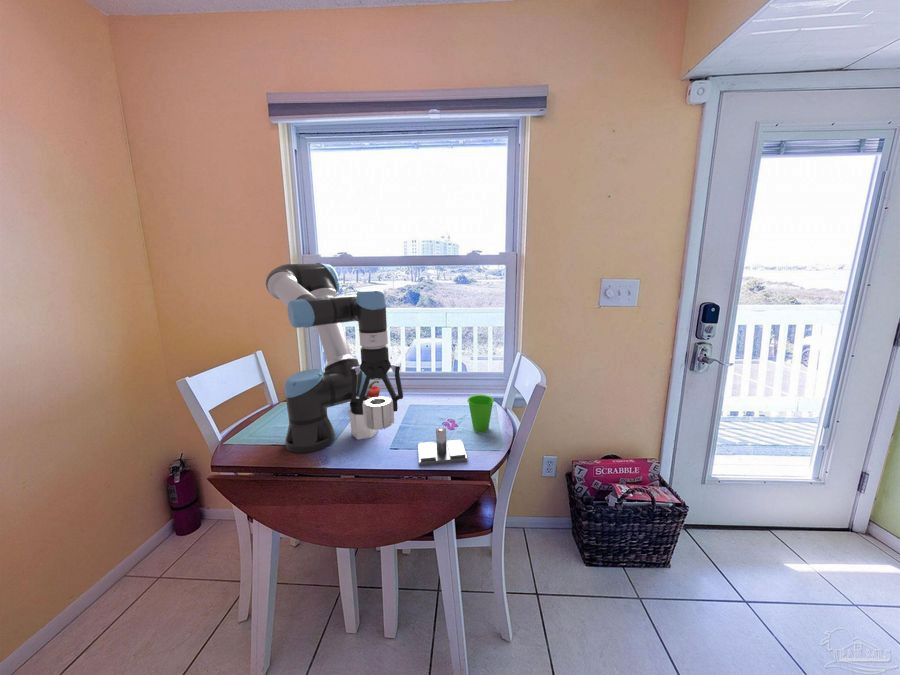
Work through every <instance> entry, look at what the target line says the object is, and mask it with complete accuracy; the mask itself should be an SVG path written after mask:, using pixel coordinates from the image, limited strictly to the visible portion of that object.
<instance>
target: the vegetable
mask: <svg viewBox="0 0 900 675" xmlns="http://www.w3.org/2000/svg"><path fill="white" fill-rule="evenodd" d="M379 383H380V380H373V381H372V382H370V385H369V391H368V393H367V395H366V396H367V397H371V398H375V397H380V392H381V391H380V387H379V386H377V385H375V384H379Z"/></svg>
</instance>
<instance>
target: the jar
mask: <svg viewBox="0 0 900 675" xmlns="http://www.w3.org/2000/svg"><path fill="white" fill-rule="evenodd" d="M368 399H371V397H367V396H364V399H363V401H367V400H368ZM348 412H349V414H348V415H349V422H350V423H349V424H350V430H351V435H352V436H353V437H354V438H355V439H356V440H362V439H363V440H364V439H371V438H373V437H374V436H375V435H376V434H377V433H378V431H379V430H374V429H373V430H372V429H369V428H367V426H364V418H363V414H360V413H359V404H358V403H356V402H354V403H353V402H352V401H351V402H349V410H348Z"/></svg>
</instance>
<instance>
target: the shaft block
mask: <svg viewBox="0 0 900 675" xmlns="http://www.w3.org/2000/svg"><path fill="white" fill-rule="evenodd" d="M435 429H436V430H435V434H436V435H435V436H436V437H435V438H436V441H435V442H434V441H427V442H419V443H418V444H417V452H418V466H419V467H423V466H424V467H425V466H432V465H433V466H434V465H445V464H456V463H465V462H467V463H468V455H467V452H466V449H465V447H464V446H465V445H464V442H463V440H462V439H451V440H447V428H446V427H444V426H440V427H437V428H435Z"/></svg>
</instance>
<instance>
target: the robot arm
mask: <svg viewBox="0 0 900 675" xmlns="http://www.w3.org/2000/svg"><path fill="white" fill-rule="evenodd" d="M339 281H340V280H339V276H338V273H337V271H336V270H335V268H334V267H333V266H332V265H331V264H328V263H321V262H316V263H287V264H281V265H280V266H279V265H278V266H277V267H275V268H273V269H272V270H271V271H270V272H269V273H268V275H267V276H266V278H265V287H266V290H267V292H268V293H269V294H270V295H271V296H272V298H275V299H277V300H280V301H281V302H282V303H283V304H284V305H285V306H286V307H287V315H288V320H289V322H290V325H291V326H292V327H293V328H296V329H299V328H306V329H307V328H310V327H311V328H312V327H316V330H317V332H318V336H319V339H320V342H321V346H322V349H323V353H324V356H325V360H326V365H325V367H324V372H323V370H322V369H319V368H313V369H306V370H302V371H301V370H300V371H299V372H296V373H294V374H292V375H290V376H289V377H288V378H287V379H286V380H285V382H284V397H285V399H286V400H285V401H286V406H287V407H286V408H287V416H288V427H287V432H286V435H285V447H286V448H285V449H287V450H288V451H290V452H291V453H294V454H295V453H296V454H308V453H312V452H317V451H319V450H322V449H324V448H325V449H326V448H327V447H328V446H329V445H331V444H332V443H334V441H335V439H336V431H335V428H334V427H333V424H332V422H331V421H330V418H329V417H328V411H327V410H328V408H332V407H335V406H339V405H343V404H346V403H350V402H351V401H352V402H353V403H354V402H356V403H358V404H359V413H360V414H363V418H364V426H367V424H366V411H365V402H366V401H363V399H364V396H366V395H367V393H368V391H369V385H370V383H371V380H375V379H379V380H380V379H382V382H383V383H384V385H385V387H386V390H387V391H388V394H389V396H390V407H391V423H392V424H393V425H394V424H395V412H397V411H398V401H399V400H402V399H403V398H404V391H403V385H402V382H401V381H402V380H401V375H400V371H401V364H400V363H396V364H395V363H391V361H390V359H389V358H390V357H389V347H388V342H389V340H388V329H387V328H388V326H387V325H388V324H387V323H388V322H387V308H386V307H387V303H386V297H385V296H386V295H385V292H384V291H383V290H382V289H378V288H374V289H372V288H371V289H361V290H360V289H359V290H358V291H357V292H356V293H351V294H345V295H342V296H341V295H340V296H337V295H338V292H339V290H340V283H339ZM349 322H358V323H357V324H358V332H359V333H358V334H359V345H360V347H361V348H360V360H361V363H360V362H359V360H358V358H356V357H354V356H353V355H352V352H351V349H350V346H349V343H348V339H347V335H346V333H345V330H344V327H343V323H349ZM390 369H391V370H392V371H391V372H393V373H394V378H395V384H396V390H397V393H396V391H395V388H394V387H393V385H392V383H391V381H390V379H389V376H388V372H389V370H390Z"/></svg>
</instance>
